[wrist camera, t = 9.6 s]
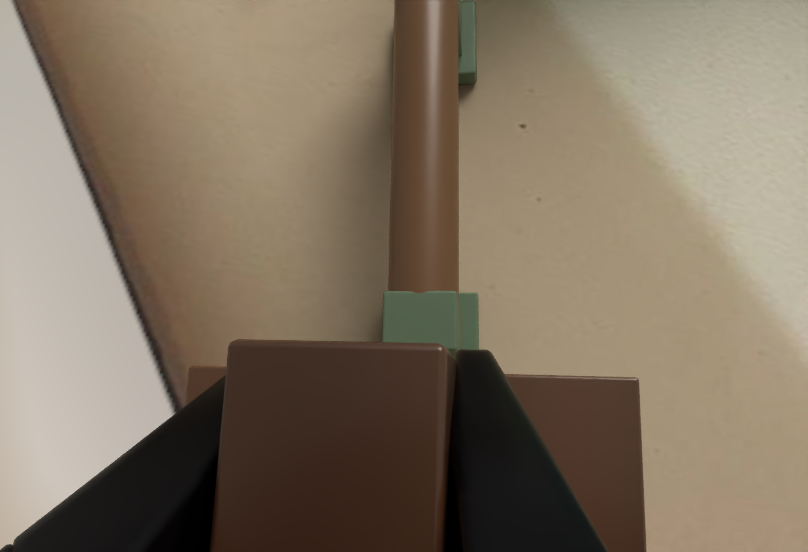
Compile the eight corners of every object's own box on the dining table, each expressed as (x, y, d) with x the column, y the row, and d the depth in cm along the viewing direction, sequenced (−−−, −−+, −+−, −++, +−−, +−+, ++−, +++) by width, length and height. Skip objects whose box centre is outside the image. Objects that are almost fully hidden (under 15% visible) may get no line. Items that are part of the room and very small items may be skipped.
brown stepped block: (588, 388, 14) (770, 349, 5) (592, 528, 14) (809, 777, 4) (284, 379, 15) (-31, 333, 6) (275, 509, 15) (-94, 680, 5)
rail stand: (478, 384, 21) (476, 377, 16) (390, 383, 21) (361, 376, 16) (476, 12, 24) (473, -89, 19) (398, 17, 24) (375, -82, 19)
